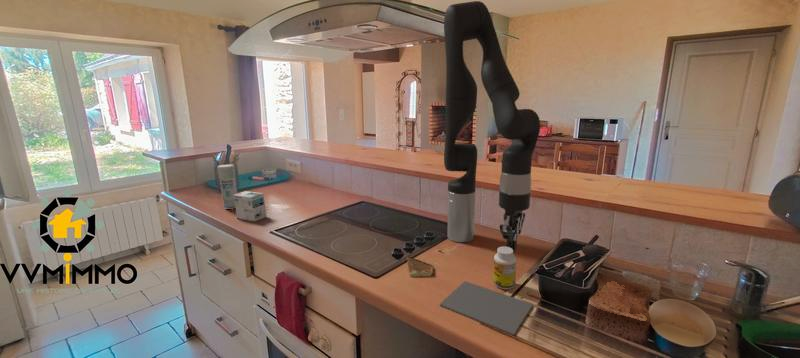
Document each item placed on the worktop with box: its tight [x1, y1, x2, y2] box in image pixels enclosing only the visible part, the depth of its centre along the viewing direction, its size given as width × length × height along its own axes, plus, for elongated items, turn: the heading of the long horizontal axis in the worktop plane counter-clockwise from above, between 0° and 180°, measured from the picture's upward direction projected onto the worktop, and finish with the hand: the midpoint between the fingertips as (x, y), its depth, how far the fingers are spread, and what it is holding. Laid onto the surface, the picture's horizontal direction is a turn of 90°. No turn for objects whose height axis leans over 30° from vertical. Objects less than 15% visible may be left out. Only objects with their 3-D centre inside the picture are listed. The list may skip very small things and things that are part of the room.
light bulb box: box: [234, 190, 267, 223], centre depth 145 cm, size 11×7×11 cm, turn 65°
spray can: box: [217, 164, 238, 210], centre depth 157 cm, size 6×6×20 cm
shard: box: [406, 255, 435, 278], centre depth 101 cm, size 11×8×2 cm
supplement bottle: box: [493, 246, 517, 290], centre depth 90 cm, size 6×6×10 cm
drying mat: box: [439, 280, 534, 336], centre depth 82 cm, size 13×18×1 cm
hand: (511, 251), depth 91 cm, fingers closed
